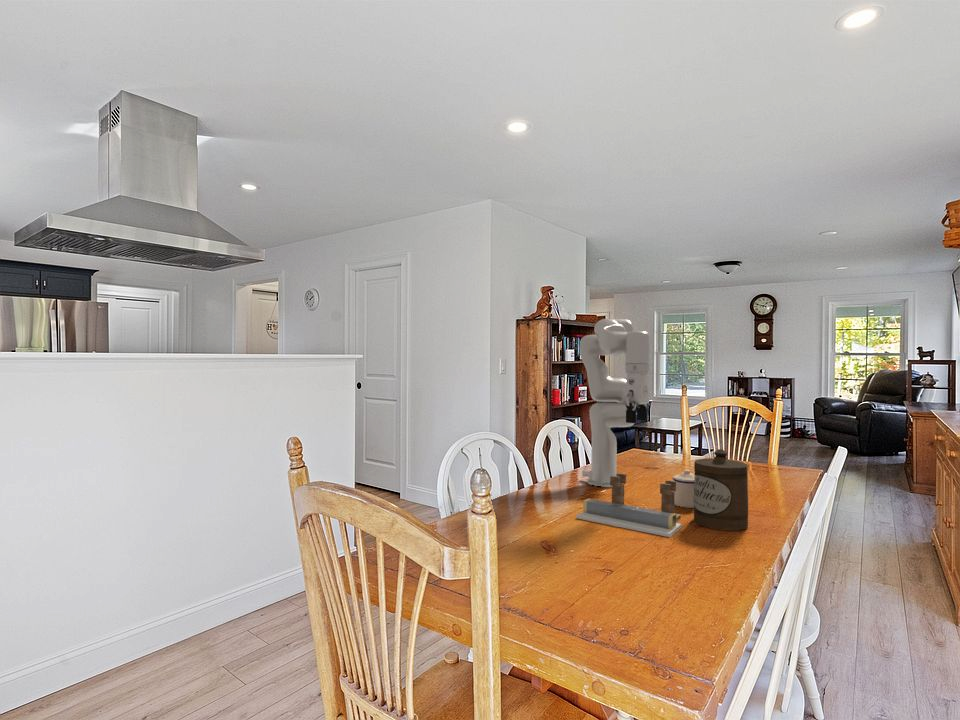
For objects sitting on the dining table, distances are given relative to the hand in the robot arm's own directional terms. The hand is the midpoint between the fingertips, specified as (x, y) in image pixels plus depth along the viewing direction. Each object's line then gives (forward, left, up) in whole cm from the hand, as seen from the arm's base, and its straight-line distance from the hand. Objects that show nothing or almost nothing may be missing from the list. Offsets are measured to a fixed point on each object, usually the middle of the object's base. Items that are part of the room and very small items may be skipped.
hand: (636, 421), depth 176 cm
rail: (+4, -17, -27) cm, 32 cm away
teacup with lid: (+12, +16, -28) cm, 35 cm away
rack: (+4, -5, -28) cm, 29 cm away
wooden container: (+26, 0, -29) cm, 39 cm away
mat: (+4, -17, -28) cm, 33 cm away
